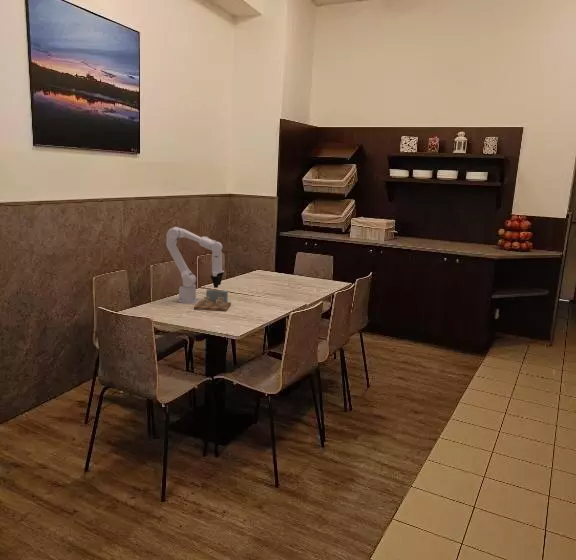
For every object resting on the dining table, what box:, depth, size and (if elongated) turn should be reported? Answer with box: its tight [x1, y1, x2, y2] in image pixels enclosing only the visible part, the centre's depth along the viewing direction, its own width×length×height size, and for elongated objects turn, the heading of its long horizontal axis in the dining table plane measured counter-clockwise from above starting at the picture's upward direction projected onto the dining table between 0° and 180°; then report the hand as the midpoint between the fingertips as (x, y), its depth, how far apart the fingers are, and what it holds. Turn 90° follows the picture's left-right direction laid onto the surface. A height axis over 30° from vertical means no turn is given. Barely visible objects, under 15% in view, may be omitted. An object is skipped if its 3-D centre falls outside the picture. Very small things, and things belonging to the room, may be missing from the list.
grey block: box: [205, 289, 229, 302], centre depth 294 cm, size 12×4×7 cm, turn 86°
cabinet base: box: [193, 296, 232, 312], centre depth 283 cm, size 18×14×5 cm
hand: (217, 286), depth 293 cm, fingers open, 7 cm apart
